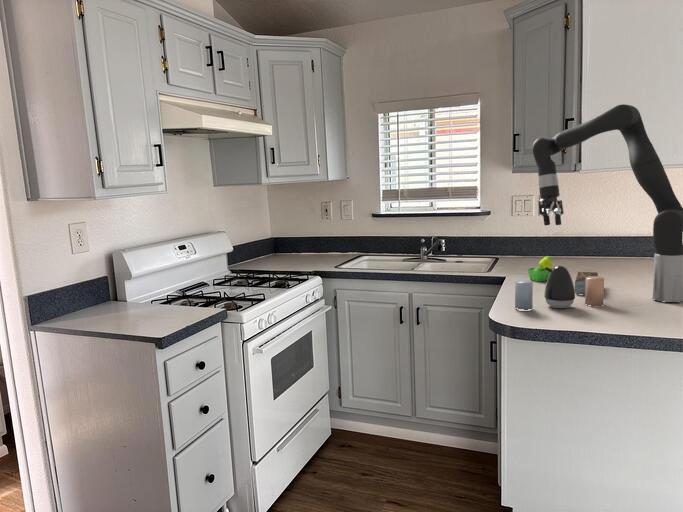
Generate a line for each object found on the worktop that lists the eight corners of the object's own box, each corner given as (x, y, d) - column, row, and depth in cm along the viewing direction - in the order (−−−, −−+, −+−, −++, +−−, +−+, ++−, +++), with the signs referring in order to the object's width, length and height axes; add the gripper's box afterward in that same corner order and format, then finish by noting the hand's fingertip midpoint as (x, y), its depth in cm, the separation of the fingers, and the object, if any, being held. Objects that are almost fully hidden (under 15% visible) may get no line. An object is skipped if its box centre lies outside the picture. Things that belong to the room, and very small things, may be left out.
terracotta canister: (606, 304, 189) (606, 277, 187) (599, 307, 185) (600, 280, 183) (589, 302, 193) (589, 275, 192) (582, 305, 189) (582, 278, 188)
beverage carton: (573, 295, 205) (574, 279, 204) (577, 285, 222) (577, 270, 221) (596, 296, 201) (596, 280, 200) (598, 286, 218) (598, 271, 217)
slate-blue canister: (535, 308, 188) (535, 281, 186) (527, 312, 183) (527, 284, 182) (520, 306, 192) (520, 279, 190) (511, 309, 188) (511, 282, 186)
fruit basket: (546, 277, 241) (547, 253, 239) (560, 280, 232) (560, 255, 230) (526, 279, 237) (526, 255, 235) (539, 283, 229) (539, 257, 227)
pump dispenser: (549, 302, 195) (549, 262, 193) (578, 305, 189) (579, 264, 187) (539, 308, 188) (540, 266, 185) (569, 312, 181) (570, 269, 179)
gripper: (547, 183, 208) (551, 224, 207) (566, 185, 217) (570, 223, 216) (530, 187, 214) (535, 226, 213) (549, 188, 223) (554, 226, 222)
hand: (553, 225), depth 215 cm, fingers open, 8 cm apart
